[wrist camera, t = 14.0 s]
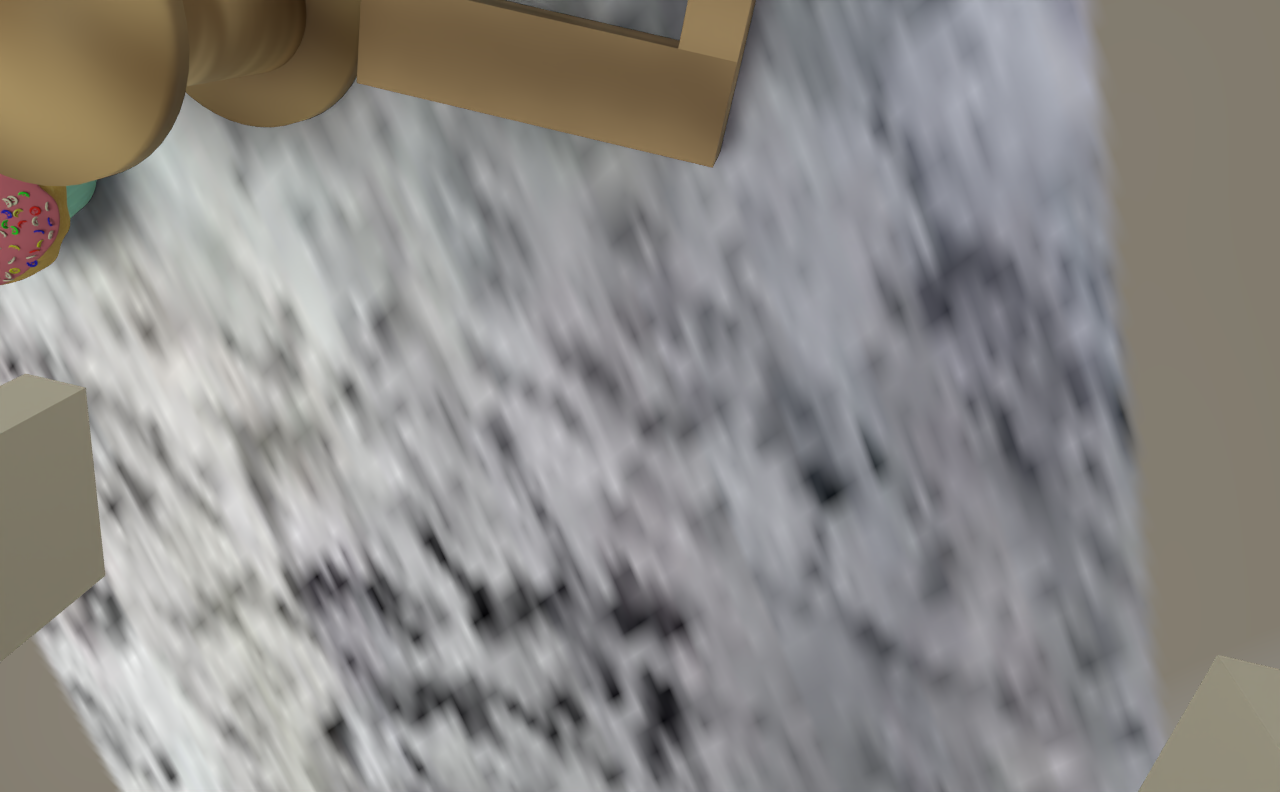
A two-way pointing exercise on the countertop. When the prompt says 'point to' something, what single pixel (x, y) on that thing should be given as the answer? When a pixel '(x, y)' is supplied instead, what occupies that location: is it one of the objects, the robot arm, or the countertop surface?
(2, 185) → the cupcake
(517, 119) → the u-shaped block
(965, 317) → the countertop surface
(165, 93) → the bobbin
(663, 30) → the countertop surface
